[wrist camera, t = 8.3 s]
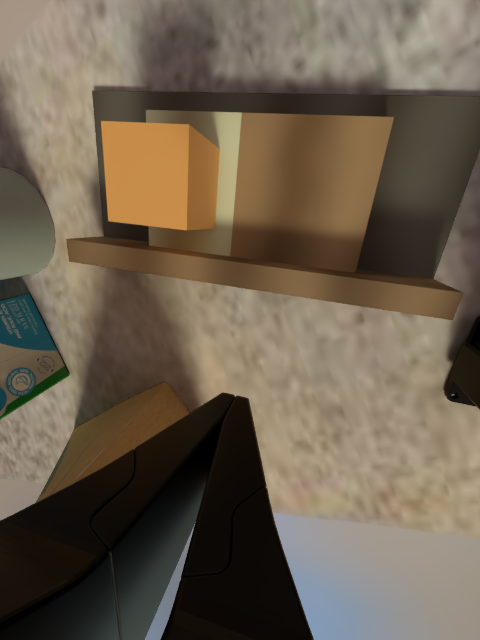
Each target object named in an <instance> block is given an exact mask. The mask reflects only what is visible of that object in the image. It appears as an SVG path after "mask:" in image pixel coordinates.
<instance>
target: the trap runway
mask: <svg viewBox="0 0 480 640" xmlns="http://www.w3.org/2000/svg"><path fill="white" fill-rule="evenodd" d="M92 94H93V106H94V118H95V131H96V143H97V155H98V167H99V180H100V192H101V204H102V216H103V229H104V237H90V238H75V239H66V241H67V248H68V256H69V261H70V262H76V263H83V264H89V265H96V266H102V267H109V268H116V269H122V270H129V271H135V272H142V273H148V274H155V275H161V276H168V277H174V278H181V279H187V280H194V281H200V282H207V283H213V284H220V285H226V286H233V287H239V288H246V289H253V290H259V291H266V292H272V293H279V294H285V295H292V296H298V297H305V298H311V299H318V300H324V301H331V302H337V303H344V304H350V305H357V306H363V307H370V308H376V309H383V310H389V311H396V312H403V313H409V314H416V315H422V316H429V317H435V318H442V319H448V320H453V318H454V315H455V313H456V310H457V308H458V305H459V303H460V300H461V298H462V295H463V293H462V292H460V291H458V290H456V289H454V288H451V287H449V286H447V285H445V284H443V283H441V282H438V281H436V280H434V276H435V273H436V270H437V267H438V264H439V262H440V259H441V256H442V253H443V250H444V248H445V245H446V242H447V239H448V236H449V234H450V231H451V228H452V225H453V222H454V220H455V217H456V214H457V211H458V208H459V206H460V203H461V200H462V197H463V194H464V192H465V189H466V186H467V183H468V180H469V177H470V175H471V172H472V169H473V166H474V163H475V161H476V158H477V155H478V152H479V149H480V97H478V96H412V95H345V94H279V93H212V92H146V91H92ZM101 121H116V122H141V123H166V124H189V125H191V126H192V127H193V128H194V129H195V130H197V131H198V132H199V133H200V134H202V135H203V136H204V137H205V138H206V139H208V140H209V141H210V142H211V143H213V144H214V145H215V146H216V147H217V148H219V149H220V155H219V172H218V188H217V205H216V222H215V229H201V230H179V229H170V228H162V227H153V226H145V225H136V224H128V223H119V222H111V221H108V210H107V196H106V183H105V169H104V156H103V142H102V129H101Z"/></svg>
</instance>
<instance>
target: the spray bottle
mask: <svg viewBox="0 0 480 640" xmlns="http://www.w3.org/2000/svg"><path fill="white" fill-rule="evenodd" d="M54 246H55V232H54V224H53V221H52V218H51V215H50V212H49V209H48V206H47V205H46V203H45V201H44V200H43V198H42V196H41V195H40V193H39V191H38V190H37V189H36V188H35V187H34V186H33V185H32V184H31V183H30V182H29V181H28V180H27V179H26V178H25V177H24V176H22V175H20V174H19V173H17V172H15V171H14V170H12V169H8V168H2V167H0V280H3V279H8V278H13V277H19V276H24V275H30V274H35V273H38V272H39V271H41V270H42V269H44V268H45V267H46V266H47V264H48V263H49V261H50V260H51V258H52V256H53V251H54Z"/></svg>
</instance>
